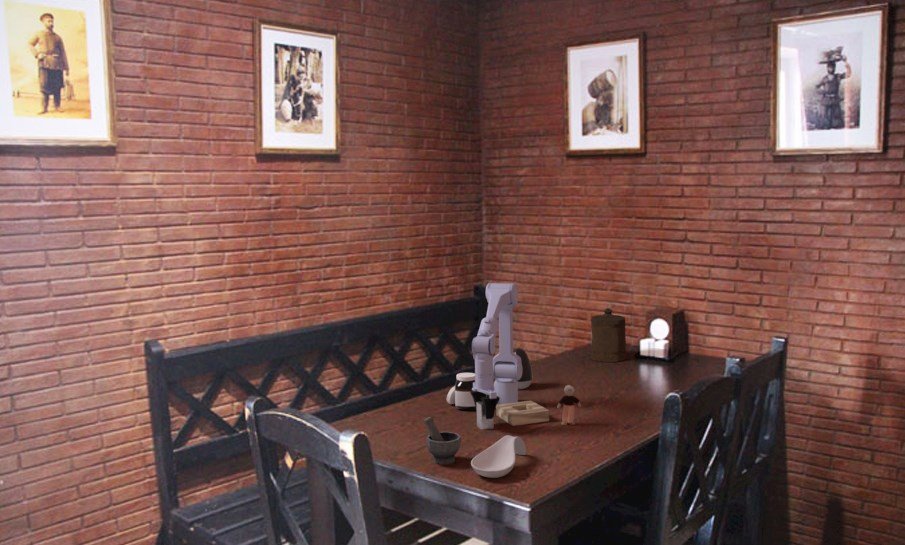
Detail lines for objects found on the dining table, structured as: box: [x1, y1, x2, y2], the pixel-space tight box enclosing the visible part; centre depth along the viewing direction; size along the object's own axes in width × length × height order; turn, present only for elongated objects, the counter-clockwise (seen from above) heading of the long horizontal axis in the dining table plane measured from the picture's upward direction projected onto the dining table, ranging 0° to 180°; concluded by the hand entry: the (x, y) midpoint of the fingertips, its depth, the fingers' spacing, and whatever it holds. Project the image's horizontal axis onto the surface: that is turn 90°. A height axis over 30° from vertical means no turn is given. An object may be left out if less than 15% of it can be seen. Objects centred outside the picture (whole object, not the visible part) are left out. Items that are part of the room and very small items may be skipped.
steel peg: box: [476, 401, 494, 431], centre depth 256 cm, size 4×4×8 cm
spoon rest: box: [470, 434, 527, 479], centre depth 221 cm, size 24×12×7 cm, turn 153°
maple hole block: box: [495, 400, 550, 427], centre depth 266 cm, size 13×13×4 cm
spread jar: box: [446, 372, 476, 411], centre depth 280 cm, size 12×11×12 cm
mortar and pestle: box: [423, 416, 462, 465], centre depth 227 cm, size 11×9×12 cm
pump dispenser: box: [513, 347, 534, 390], centre depth 304 cm, size 10×10×15 cm
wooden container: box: [590, 308, 627, 363], centre depth 349 cm, size 15×15×22 cm
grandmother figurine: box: [556, 384, 582, 426], centre depth 258 cm, size 8×4×13 cm, turn 105°
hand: (484, 415), depth 256 cm, fingers open, 7 cm apart
